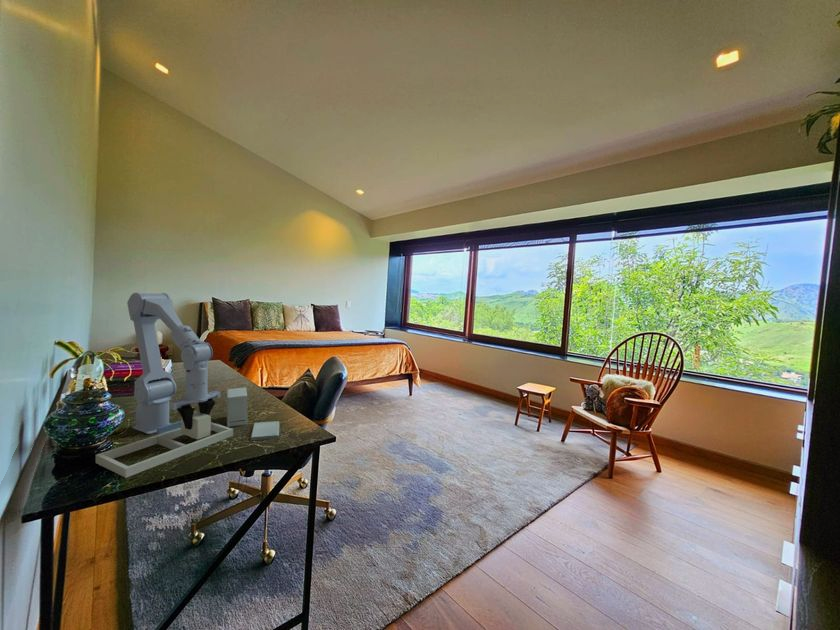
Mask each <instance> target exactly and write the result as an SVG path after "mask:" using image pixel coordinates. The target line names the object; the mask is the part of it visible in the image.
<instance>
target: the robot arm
mask: <svg viewBox="0 0 840 630" xmlns="http://www.w3.org/2000/svg"><path fill="white" fill-rule="evenodd" d="M126 304H127V309H128V314H129V318H130V321H132V322H133V326H134V331H135V332H134V334H135V336H136V337H135V338H136V342H137V349H138V353H139V358H140V365H141V368H142V374H141V375H139V377H138V378H137V379H136V380H135V381H134V392H133V394H134V395H133V396H134V399H135V400H136V402H137V405H136V407H135V425H134V426H131V427H132V428H131V429H133V430H136V431H139V432H142V433H144V434H146V435H152V434H155V433H157V428H159V427H162V426H165V425H169V424H172V423H171V422H170V410H172V411H177V412H178V414H179V415H180V418H181V417H182V419H183V422H184V425H185V428H186V429H189V430H190V429H192V418H193V413H194V411H196V409H195V408H194V407H192V406H191V405H195V404H197V405H198V411H199V412H200V413H203V414H207V415H210V414H211V411H212V409H213V408H214V406H215V405H216V400H214V399H221V397H222V396H221V393H222V392H221V391H218V390H214V391H209V392H208V380H209V379H208V377H209V376H208V375H209V372H208V371H209V361H210V360H212V358H213V355H214V351H213V348H212V346H211V344H210V343H209V342H206V341H204V340H201V339H200V338H199V337H198V336H197V334H196V333H195V332H194V330H193V329H192V328H191V326H189V325H184V324H183V322H182V321H181V319H180V318H179V317H178V315H177V313H176V311H175V310H174V308H173V306H174V301H173V299H171V297H170V295H169V294H167V293H166V292H161V293H148V292H146V293H142V292H141V293H140V292H134V293H132V294H131V295H129V299H128V300H127V302H126ZM158 320H160V321H162V322H163V323H164V325H165V326H166V327H167V328H168V329H169V330H170V331H171V333H170V338H171V340H172V341H173V342H174V343H175V345H176V346H177V347H178V348H179V350H180V351H181V353H180V358H181V360H182V363H183V369H184V370H185V385H184V387H185V391H184V392H185V393H184V394H185V395H184V397H182V398H179V399H176V400H174V401H170V400H173V396H175V394H176V393H177V384H176V382H175V380H174V378H173V374H172V373H171V372H169V371H166V370H165V369H164V366H163V360H162V356H161V352H160V347H159V341H158V336H157V335H158V334H157V330H156V326H155V324H156V323H157V321H158ZM150 381H151V382H150Z"/></svg>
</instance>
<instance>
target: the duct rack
mask: <svg viewBox="0 0 840 630" xmlns="http://www.w3.org/2000/svg"><path fill="white" fill-rule="evenodd" d="M210 432H215V433H214V434H212V435H208V436H205V437H203V438H200V439H197V440H195V441H193V442H191V443H188V444H186V443H182V442H180V441H177V440H174V439H176V438H177V437H181V436H183V435H184V434H181V420H179V421H176V422H173V423H172V424H169V425H165V426H162V427H159V428H157V432H156V435H153V436H150V437H147V438H144V439H141V440H137V441H134V442H131V443H128V444H126V445H123V446H119V447H116V448H113V449H110V450H107V451H104V452H100V453H97V454H95V464H98V466H101V467H103V468H105V469H107V470H109V471H112V472H113V473H116V474H117V475H119V476H121V477H123V478H129V477H131V476H134V475H137V474H139V473H142V472H143V471H146V470H150V469H151V468H152V469H153V468H154V467H157V466H160V465H162V464H165V463H168V462H170V461H172V460H174V459H177V458H180V457H182V456H185V455H188V454H190V453H192V452H195V451H197V450H200V449H203V448H205V447H208V446H210V445H212V444H215V443H218V442H221V441H223V440H225V439H226V440H227V438H231V437H233V436H234V428H231V427H227V426H225V425H222V424H219V423H215V422H212V421H211V431H210ZM184 436H185V435H184ZM154 445H159V446H162V447H165V448H167V449H170V450H169V451H166V452H162V453H161V454H157V455H155V456H152V457H149V458H147V459H145V460H142V461H139V462H136V463H134V464H130V465H126V464H124V463H123V462H120V461H118V460H116V458H119V457H122V456H125V455H128V454H131V453H134V452H136V451H137V452H138V451H140V450H142V449H145V448H149V447H152V446H154Z"/></svg>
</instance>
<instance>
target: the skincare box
mask: <svg viewBox="0 0 840 630" xmlns="http://www.w3.org/2000/svg"><path fill="white" fill-rule="evenodd" d="M226 391H227V392H226V424H227V425H226V427H228V428H231V427H235V426H236V427H237V426H245V425H248V392H247V387H246V386H245V387H237V388H228V389H227V390H226Z"/></svg>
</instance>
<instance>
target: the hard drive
mask: <svg viewBox="0 0 840 630" xmlns="http://www.w3.org/2000/svg"><path fill="white" fill-rule="evenodd" d="M250 435H251V436H250V441H251V442H252V441H263V440H264V439H265V440H274V439H279V438H280V421H278V420H277V421H263V422H261V421H260V422H254V423H253V426H252V432H251V434H250Z"/></svg>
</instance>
